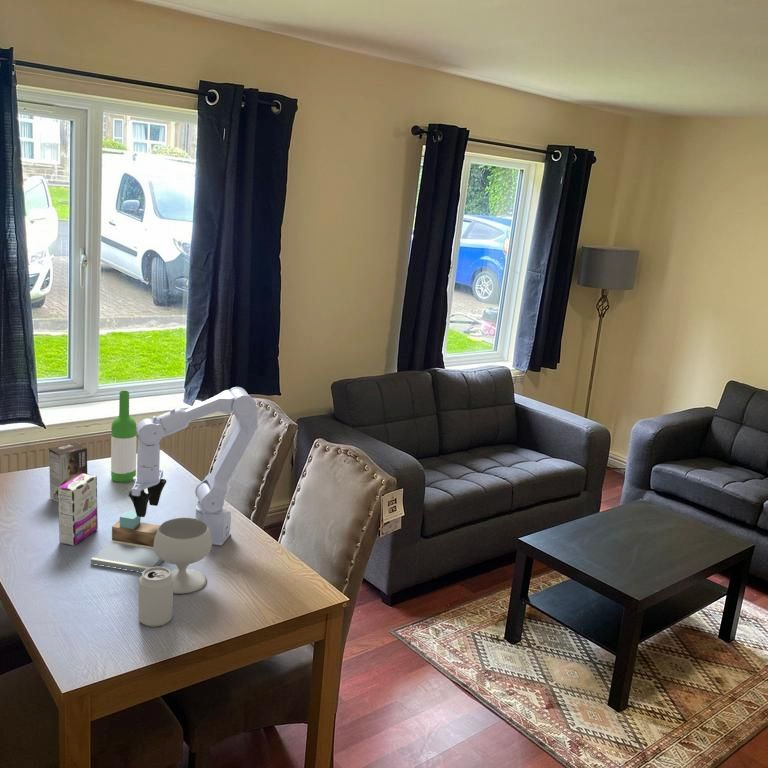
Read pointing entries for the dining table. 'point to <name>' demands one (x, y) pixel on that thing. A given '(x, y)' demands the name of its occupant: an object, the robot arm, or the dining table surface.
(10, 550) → the dining table surface
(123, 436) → the wine bottle
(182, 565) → the chalice
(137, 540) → the tan block
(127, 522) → the teal cube block
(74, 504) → the candy bar box
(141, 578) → the can
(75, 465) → the coffee box
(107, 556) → the dock
